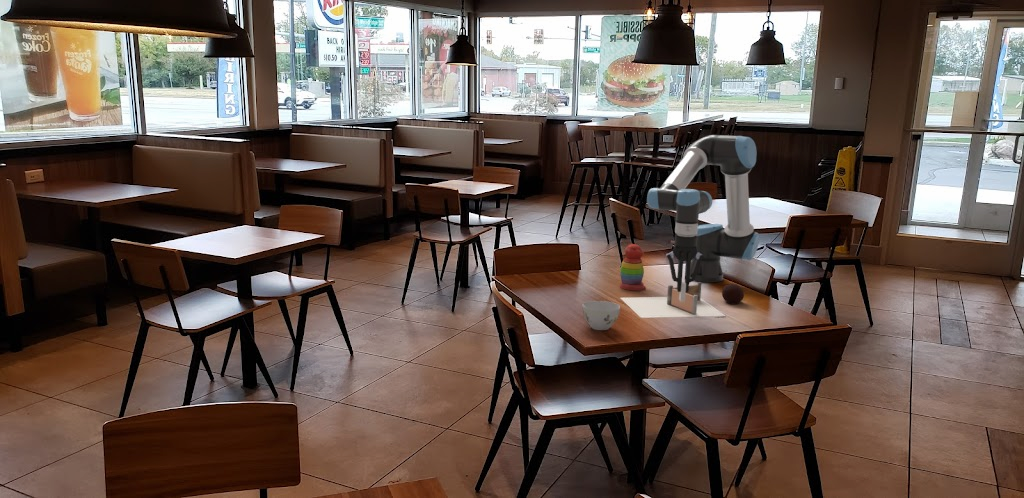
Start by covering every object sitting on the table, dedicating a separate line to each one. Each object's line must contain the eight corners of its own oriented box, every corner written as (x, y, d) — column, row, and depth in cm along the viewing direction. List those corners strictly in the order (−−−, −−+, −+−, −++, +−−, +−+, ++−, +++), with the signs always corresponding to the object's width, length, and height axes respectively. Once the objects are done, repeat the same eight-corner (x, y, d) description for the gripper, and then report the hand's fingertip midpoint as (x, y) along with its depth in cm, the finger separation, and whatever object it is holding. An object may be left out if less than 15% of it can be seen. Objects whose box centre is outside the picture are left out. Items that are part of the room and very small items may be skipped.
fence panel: (670, 304, 280) (671, 287, 279) (673, 304, 281) (674, 286, 279) (694, 314, 269) (695, 296, 267) (697, 313, 269) (698, 295, 268)
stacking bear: (646, 291, 302) (649, 247, 298) (621, 290, 302) (623, 246, 298) (642, 284, 312) (645, 241, 309) (617, 283, 313) (620, 241, 309)
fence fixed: (698, 299, 289) (699, 281, 288) (701, 300, 288) (702, 282, 286) (665, 303, 282) (667, 285, 281) (669, 305, 281) (670, 286, 279)
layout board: (697, 297, 294) (697, 295, 294) (725, 317, 269) (725, 315, 268) (619, 299, 289) (619, 297, 289) (640, 319, 264) (641, 317, 264)
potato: (727, 307, 281) (728, 287, 280) (716, 300, 290) (718, 281, 289) (747, 307, 283) (749, 286, 281) (736, 300, 292) (738, 280, 290)
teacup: (626, 331, 251) (627, 308, 249) (593, 335, 246) (594, 311, 244) (602, 318, 264) (603, 296, 262) (571, 322, 259) (572, 299, 257)
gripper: (668, 236, 258) (665, 303, 263) (707, 237, 257) (703, 304, 263) (665, 232, 265) (661, 297, 270) (702, 232, 265) (698, 297, 270)
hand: (682, 300), depth 267 cm, fingers closed
